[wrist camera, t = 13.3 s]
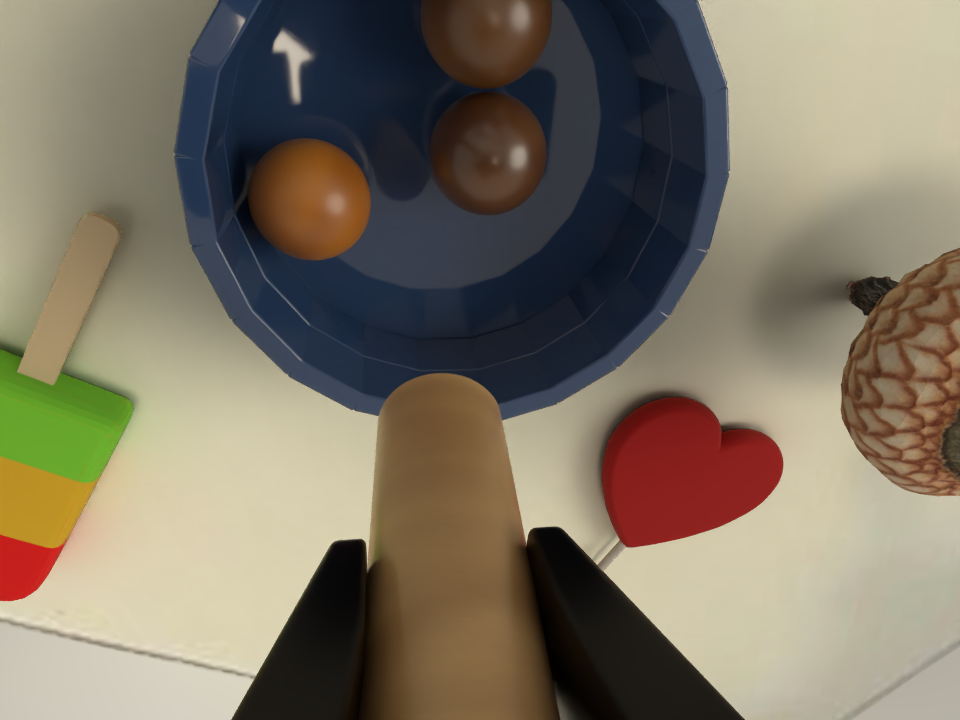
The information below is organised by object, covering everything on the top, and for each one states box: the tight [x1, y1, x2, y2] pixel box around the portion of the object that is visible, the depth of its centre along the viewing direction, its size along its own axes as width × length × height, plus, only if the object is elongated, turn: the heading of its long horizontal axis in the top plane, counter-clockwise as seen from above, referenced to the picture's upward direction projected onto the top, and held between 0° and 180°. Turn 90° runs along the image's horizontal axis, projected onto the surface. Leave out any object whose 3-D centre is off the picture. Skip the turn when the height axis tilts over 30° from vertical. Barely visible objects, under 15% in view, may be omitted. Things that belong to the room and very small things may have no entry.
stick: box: [359, 373, 561, 720], centre depth 7 cm, size 2×2×9 cm
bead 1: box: [248, 138, 371, 261], centre depth 15 cm, size 3×3×3 cm
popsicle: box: [0, 212, 133, 601], centre depth 19 cm, size 6×15×2 cm, turn 145°
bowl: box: [174, 0, 730, 420], centre depth 16 cm, size 12×12×4 cm
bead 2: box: [420, 0, 552, 89], centre depth 14 cm, size 3×3×3 cm
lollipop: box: [597, 397, 783, 571], centre depth 26 cm, size 8×1×15 cm
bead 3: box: [429, 91, 547, 216], centre depth 16 cm, size 3×3×3 cm
